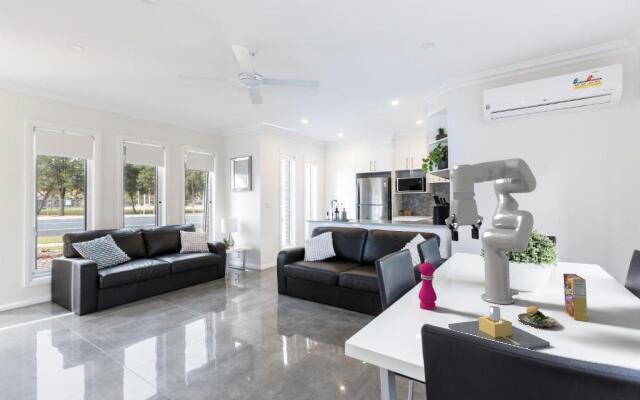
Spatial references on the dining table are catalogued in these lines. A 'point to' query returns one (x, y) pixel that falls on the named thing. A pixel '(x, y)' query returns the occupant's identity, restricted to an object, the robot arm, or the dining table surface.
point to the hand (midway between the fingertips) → (465, 239)
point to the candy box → (575, 296)
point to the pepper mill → (427, 287)
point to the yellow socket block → (495, 327)
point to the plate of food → (536, 318)
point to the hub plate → (517, 337)
